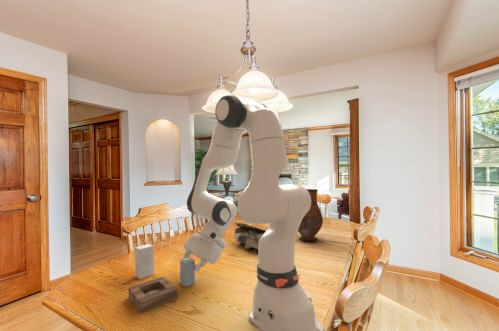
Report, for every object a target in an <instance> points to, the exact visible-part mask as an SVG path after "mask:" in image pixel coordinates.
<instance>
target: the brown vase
mask: <svg viewBox="0 0 499 331" xmlns="http://www.w3.org/2000/svg"><path fill="white" fill-rule="evenodd" d="M306 189H307V191H308V192H309V194H310V196H311V207H310V209H309V211H308V212H307V213H306V214H305V216H304V217H303V219H302V221H301V223H300V226H299V229H298V232H297V233H298V234H300V237H299V238H298V239H299V241H301V242H303V243H314V242H317V241H318V237H317V236H316V235H317V234H318V233H319V232H320V230H321V228H322V227H323V223H324V220H323V215H322V212H321V209H320V207H319V203H318V191H319V189H314V188H313V189H312V188H309V189H308V188H306Z"/></svg>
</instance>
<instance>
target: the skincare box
mask: <svg viewBox="0 0 499 331" xmlns="http://www.w3.org/2000/svg"><path fill="white" fill-rule="evenodd" d="M154 258H155V257H154V245H153V244H150V243H146V244H142V245H139V246H136V247H134V267H135V268H134V269H135V272H134V273H135V277H136V278H137V279H139V280H142V279H144V278H147V277H149V276H150V277H151V276H152V275H155V266H154V265H155V264H154V263H155V261H154V260H155V259H154Z"/></svg>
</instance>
